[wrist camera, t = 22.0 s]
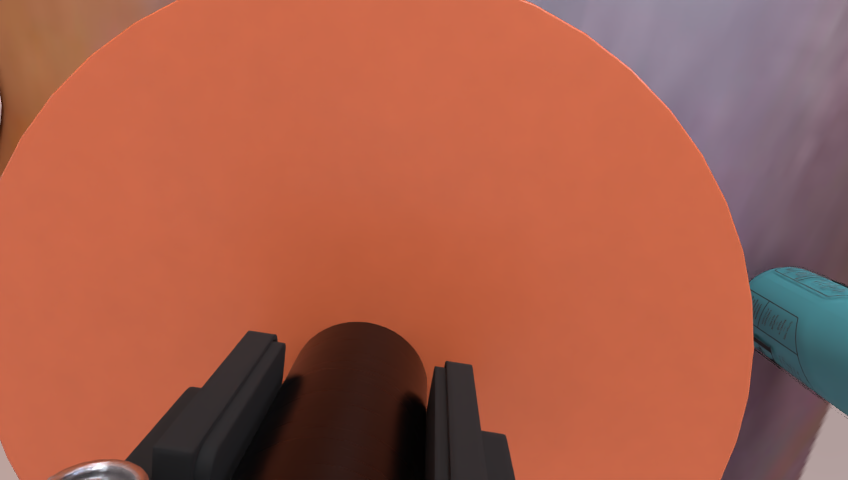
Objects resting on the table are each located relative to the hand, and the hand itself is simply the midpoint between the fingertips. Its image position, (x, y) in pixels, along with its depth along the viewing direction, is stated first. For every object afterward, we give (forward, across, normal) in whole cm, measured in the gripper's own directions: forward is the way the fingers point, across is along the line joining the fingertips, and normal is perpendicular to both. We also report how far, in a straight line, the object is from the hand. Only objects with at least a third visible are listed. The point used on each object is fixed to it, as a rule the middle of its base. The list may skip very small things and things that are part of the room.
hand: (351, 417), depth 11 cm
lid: (+2, 0, 0) cm, 2 cm away
